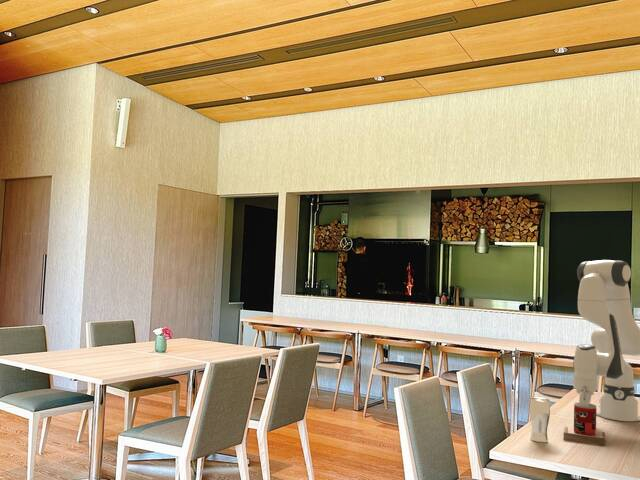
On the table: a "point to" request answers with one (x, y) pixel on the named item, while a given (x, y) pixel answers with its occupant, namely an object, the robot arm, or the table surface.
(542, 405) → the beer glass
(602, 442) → the open wooden square
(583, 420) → the canned food
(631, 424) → the table surface
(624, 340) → the robot arm
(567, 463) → the table surface
